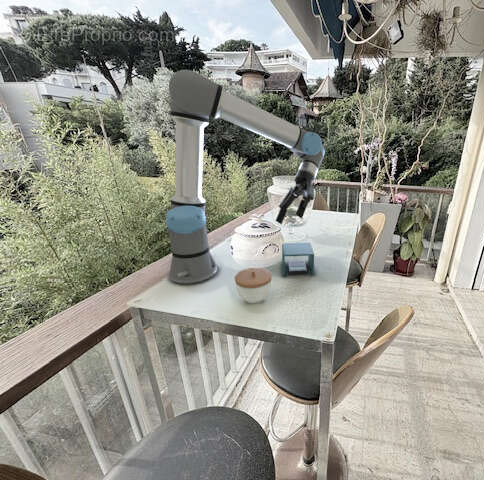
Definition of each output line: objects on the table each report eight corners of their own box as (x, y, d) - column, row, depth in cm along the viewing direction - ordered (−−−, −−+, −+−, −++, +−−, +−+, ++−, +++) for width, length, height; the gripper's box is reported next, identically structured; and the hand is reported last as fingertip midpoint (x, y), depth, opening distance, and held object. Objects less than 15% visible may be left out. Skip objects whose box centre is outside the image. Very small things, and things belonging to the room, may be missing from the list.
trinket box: (252, 312, 75) (250, 284, 72) (229, 298, 81) (226, 271, 78) (279, 296, 83) (278, 270, 80) (256, 285, 89) (255, 259, 86)
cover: (282, 263, 105) (281, 243, 102) (309, 261, 107) (310, 242, 104) (283, 276, 95) (282, 255, 92) (313, 275, 97) (314, 254, 94)
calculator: (288, 264, 105) (288, 260, 104) (304, 263, 106) (304, 260, 105) (289, 274, 97) (289, 270, 96) (306, 273, 98) (306, 270, 97)
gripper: (333, 172, 101) (316, 219, 93) (295, 188, 120) (278, 228, 112) (319, 159, 97) (300, 207, 89) (282, 178, 116) (263, 219, 108)
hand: (288, 219), depth 100 cm, fingers open, 13 cm apart
